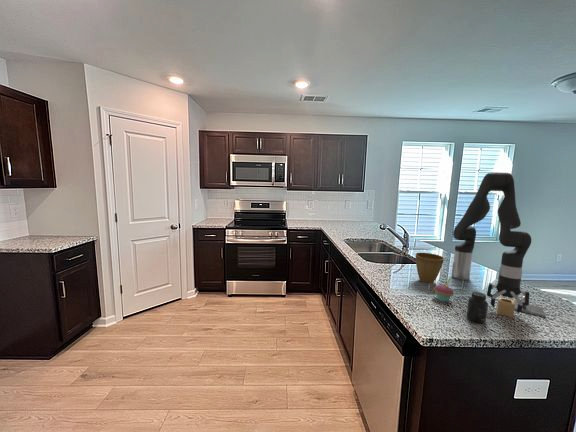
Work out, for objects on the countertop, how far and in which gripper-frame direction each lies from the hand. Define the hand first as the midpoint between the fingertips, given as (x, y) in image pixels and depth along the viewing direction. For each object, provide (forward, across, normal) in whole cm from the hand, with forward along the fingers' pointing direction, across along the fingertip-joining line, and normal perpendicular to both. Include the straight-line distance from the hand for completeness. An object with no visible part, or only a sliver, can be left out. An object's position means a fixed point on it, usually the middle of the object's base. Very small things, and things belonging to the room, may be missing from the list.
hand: (505, 309), depth 114 cm
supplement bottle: (+2, -10, -17) cm, 20 cm away
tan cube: (+2, 0, 0) cm, 2 cm away
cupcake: (+2, -24, -3) cm, 24 cm away
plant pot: (+2, -35, +19) cm, 40 cm away
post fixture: (+2, +7, +12) cm, 14 cm away
